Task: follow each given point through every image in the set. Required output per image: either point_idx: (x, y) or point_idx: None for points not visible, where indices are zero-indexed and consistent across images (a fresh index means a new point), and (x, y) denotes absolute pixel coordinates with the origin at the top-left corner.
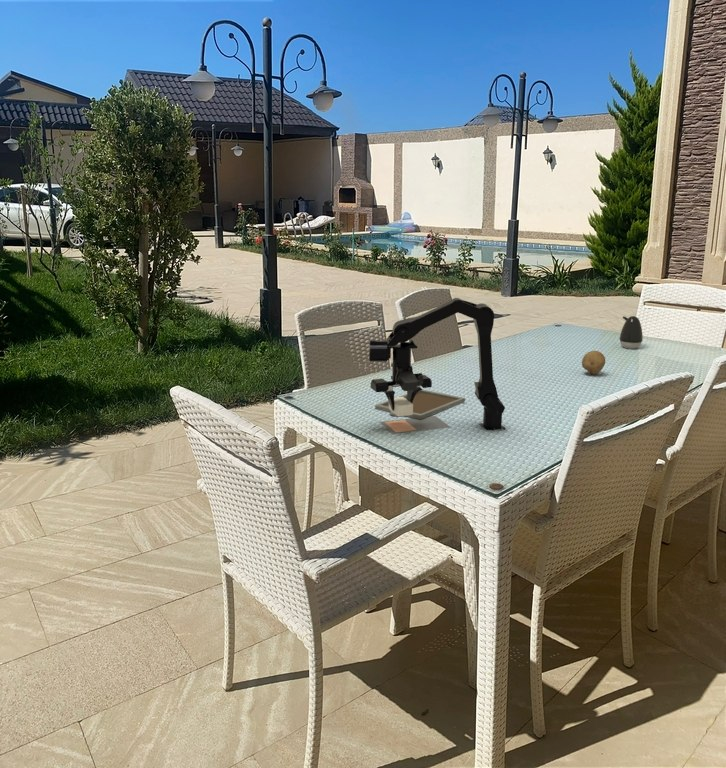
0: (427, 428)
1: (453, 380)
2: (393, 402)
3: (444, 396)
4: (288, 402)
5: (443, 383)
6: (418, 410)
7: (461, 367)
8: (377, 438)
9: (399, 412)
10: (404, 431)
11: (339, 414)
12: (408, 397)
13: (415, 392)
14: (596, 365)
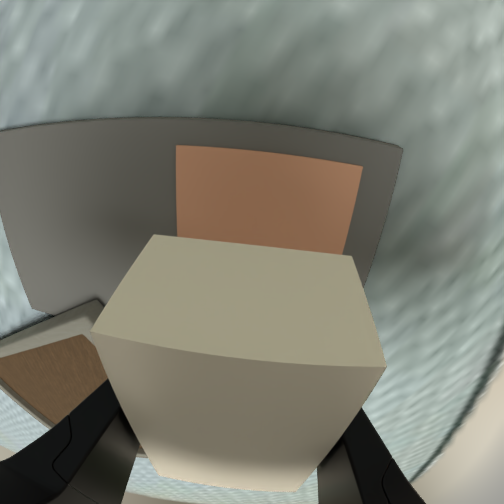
0: (92, 150)
1: (23, 429)
2: (357, 448)
3: (19, 398)
4: (409, 480)
5: (38, 434)
6: (91, 377)
7: (21, 442)
8: (494, 157)
9: (340, 286)
10: (287, 150)
11: (385, 440)
12: (120, 460)
13: (4, 482)
14: None
